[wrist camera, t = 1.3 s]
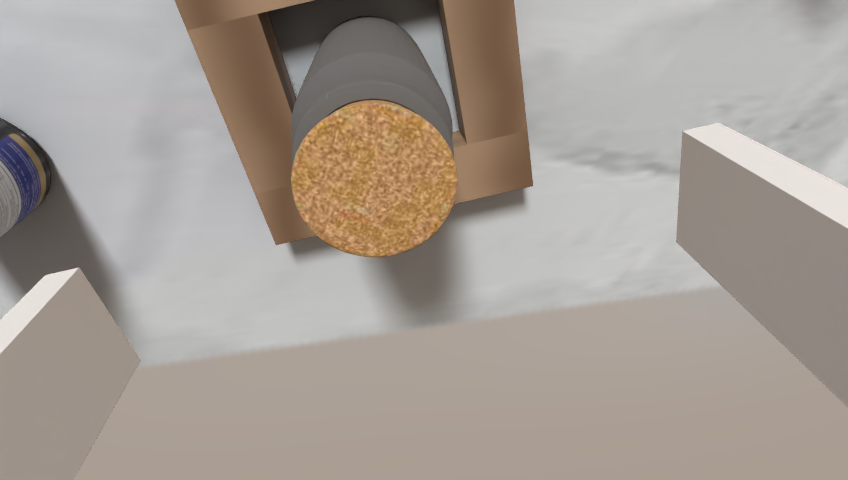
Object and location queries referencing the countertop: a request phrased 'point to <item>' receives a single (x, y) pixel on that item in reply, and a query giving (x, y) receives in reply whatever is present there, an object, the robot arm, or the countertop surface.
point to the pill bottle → (20, 176)
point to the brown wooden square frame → (274, 97)
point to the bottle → (372, 142)
